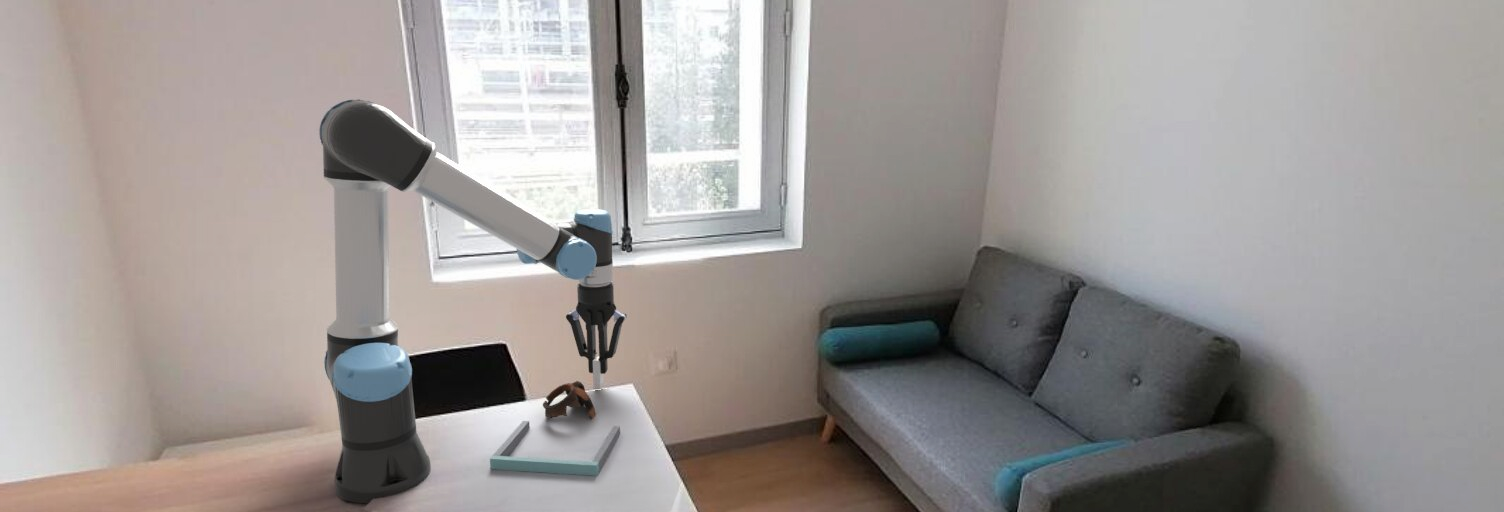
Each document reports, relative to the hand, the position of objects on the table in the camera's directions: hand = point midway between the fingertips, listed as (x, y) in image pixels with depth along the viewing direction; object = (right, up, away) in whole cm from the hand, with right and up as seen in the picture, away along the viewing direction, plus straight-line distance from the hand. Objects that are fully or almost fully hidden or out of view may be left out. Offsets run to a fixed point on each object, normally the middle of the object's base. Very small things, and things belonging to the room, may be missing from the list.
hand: (598, 386), depth 171 cm
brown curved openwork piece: (-2, -5, -10) cm, 11 cm away
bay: (-3, -8, -25) cm, 26 cm away
